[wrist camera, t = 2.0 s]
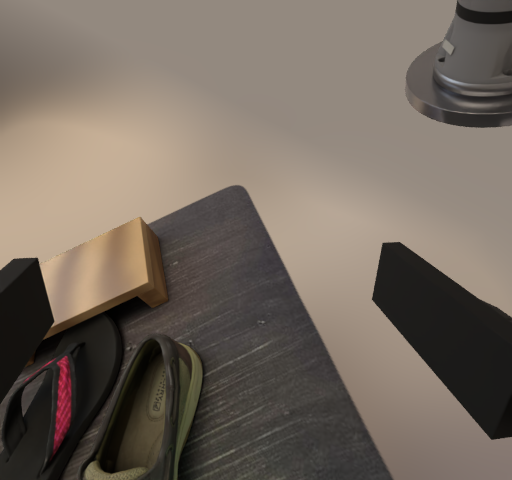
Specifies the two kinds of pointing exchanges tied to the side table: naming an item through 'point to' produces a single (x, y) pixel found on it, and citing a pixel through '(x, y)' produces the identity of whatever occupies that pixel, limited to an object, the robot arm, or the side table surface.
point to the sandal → (61, 402)
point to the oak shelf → (104, 275)
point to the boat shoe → (147, 414)
